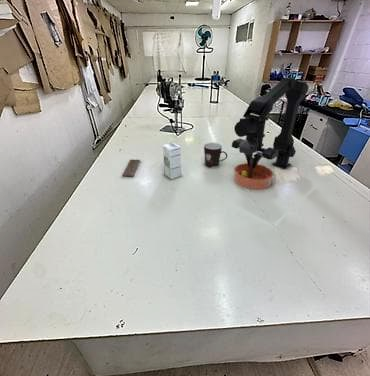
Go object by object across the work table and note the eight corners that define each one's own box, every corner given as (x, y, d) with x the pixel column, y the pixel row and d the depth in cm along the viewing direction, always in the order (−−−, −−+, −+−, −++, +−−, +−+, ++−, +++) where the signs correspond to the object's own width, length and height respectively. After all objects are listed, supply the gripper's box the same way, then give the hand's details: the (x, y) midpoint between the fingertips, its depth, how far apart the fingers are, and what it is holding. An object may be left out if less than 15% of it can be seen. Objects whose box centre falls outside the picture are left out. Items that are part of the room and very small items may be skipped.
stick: (249, 175, 104) (251, 156, 100) (253, 177, 102) (256, 158, 99) (246, 177, 103) (249, 158, 99) (250, 178, 101) (253, 159, 98)
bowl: (246, 169, 112) (247, 160, 110) (277, 182, 101) (279, 171, 99) (226, 180, 102) (227, 170, 100) (258, 195, 91) (260, 184, 89)
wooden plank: (133, 174, 103) (122, 174, 103) (133, 177, 104) (122, 176, 104) (139, 159, 119) (130, 159, 118) (140, 161, 119) (130, 161, 119)
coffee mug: (199, 162, 118) (200, 144, 114) (214, 160, 121) (215, 141, 117) (211, 172, 108) (213, 152, 104) (227, 169, 112) (229, 149, 108)
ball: (244, 175, 106) (242, 169, 105) (249, 175, 103) (248, 169, 102) (240, 178, 104) (238, 172, 103) (246, 179, 102) (244, 172, 101)
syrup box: (181, 176, 105) (181, 146, 99) (170, 179, 102) (169, 148, 96) (174, 171, 109) (174, 142, 103) (163, 174, 106) (162, 144, 100)
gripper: (225, 130, 95) (222, 165, 102) (267, 142, 83) (261, 181, 89) (241, 125, 102) (237, 158, 109) (282, 136, 90) (275, 172, 96)
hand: (251, 167), depth 101 cm, fingers closed on stick, 2 cm apart
